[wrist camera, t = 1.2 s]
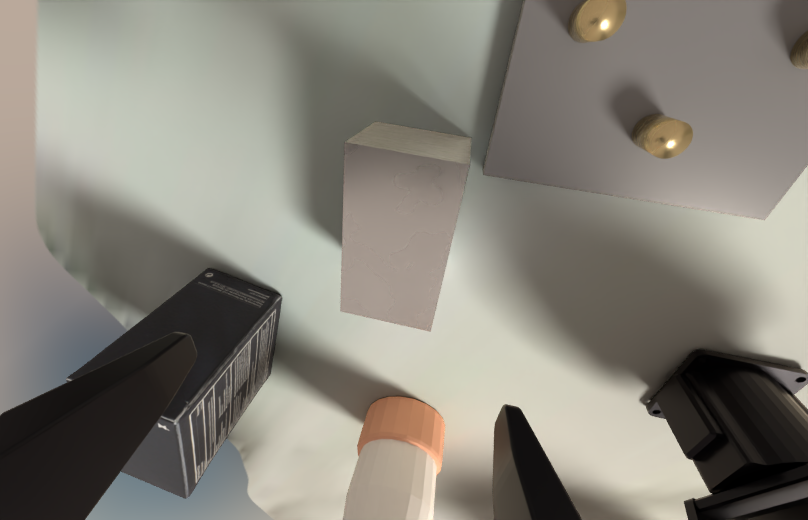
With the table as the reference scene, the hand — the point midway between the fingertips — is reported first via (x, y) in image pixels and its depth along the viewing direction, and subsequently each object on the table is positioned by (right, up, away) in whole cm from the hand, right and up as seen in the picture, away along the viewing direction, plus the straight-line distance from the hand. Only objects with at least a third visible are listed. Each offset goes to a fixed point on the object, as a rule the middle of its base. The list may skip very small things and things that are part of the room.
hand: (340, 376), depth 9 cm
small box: (-12, -2, +19) cm, 22 cm away
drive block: (+2, +6, +10) cm, 12 cm away
